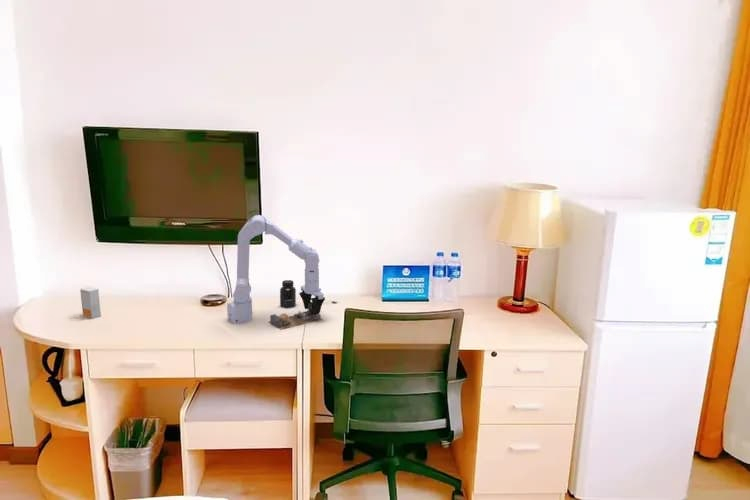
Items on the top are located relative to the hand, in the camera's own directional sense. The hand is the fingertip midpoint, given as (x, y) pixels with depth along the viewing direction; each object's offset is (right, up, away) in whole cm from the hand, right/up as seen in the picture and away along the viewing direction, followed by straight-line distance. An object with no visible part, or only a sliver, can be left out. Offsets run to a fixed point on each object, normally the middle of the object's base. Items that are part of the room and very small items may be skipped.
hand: (312, 311), depth 232 cm
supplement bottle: (-12, 0, +14) cm, 18 cm away
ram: (-1, -2, -1) cm, 3 cm away
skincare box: (-91, -2, -1) cm, 91 cm away
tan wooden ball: (-11, -4, -7) cm, 14 cm away
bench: (-6, -4, -4) cm, 9 cm away
